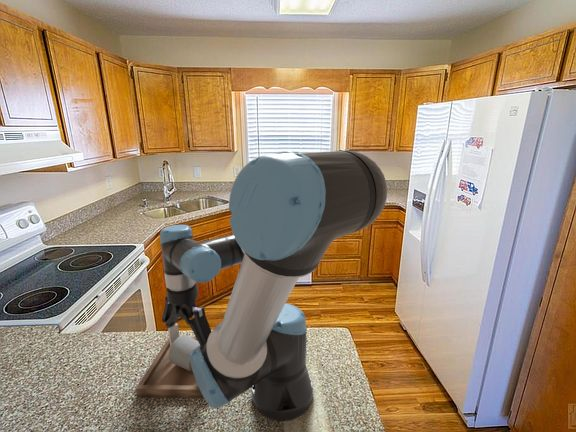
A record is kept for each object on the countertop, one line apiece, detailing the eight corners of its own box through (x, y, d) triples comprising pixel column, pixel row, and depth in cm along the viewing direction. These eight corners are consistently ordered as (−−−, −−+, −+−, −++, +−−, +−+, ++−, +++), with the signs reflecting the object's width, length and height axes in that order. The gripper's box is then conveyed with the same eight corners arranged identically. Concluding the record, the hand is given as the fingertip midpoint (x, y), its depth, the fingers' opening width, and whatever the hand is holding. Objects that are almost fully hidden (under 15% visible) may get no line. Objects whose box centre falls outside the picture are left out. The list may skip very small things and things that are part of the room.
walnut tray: (233, 343, 91) (233, 336, 91) (217, 398, 72) (216, 389, 71) (170, 343, 92) (169, 336, 91) (136, 397, 72) (135, 388, 72)
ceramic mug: (192, 379, 76) (189, 353, 74) (169, 369, 80) (166, 344, 78) (218, 354, 85) (217, 331, 84) (197, 346, 89) (195, 323, 87)
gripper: (226, 292, 71) (231, 366, 76) (167, 268, 86) (175, 332, 91) (200, 305, 65) (208, 385, 71) (142, 277, 80) (152, 345, 85)
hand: (189, 355), depth 81 cm, fingers open, 13 cm apart
